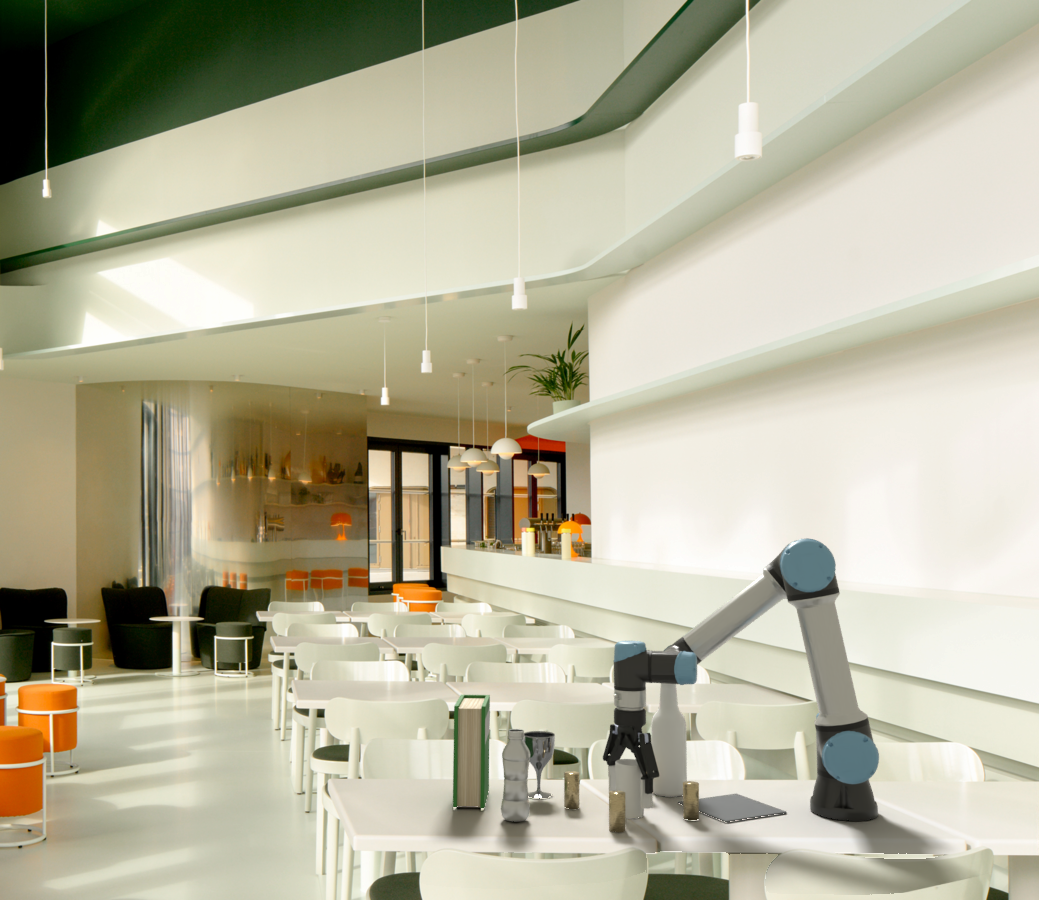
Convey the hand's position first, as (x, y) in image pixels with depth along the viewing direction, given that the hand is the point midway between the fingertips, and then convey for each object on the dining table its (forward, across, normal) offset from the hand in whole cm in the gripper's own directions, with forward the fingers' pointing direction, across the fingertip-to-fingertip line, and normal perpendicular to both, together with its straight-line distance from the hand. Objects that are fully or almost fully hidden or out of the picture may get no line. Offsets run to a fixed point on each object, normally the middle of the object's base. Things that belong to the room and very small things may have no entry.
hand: (630, 800), depth 222 cm
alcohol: (+3, -11, +19) cm, 22 cm away
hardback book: (+3, -26, -29) cm, 39 cm away
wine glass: (+3, -23, -12) cm, 26 cm away
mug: (+3, 0, 0) cm, 3 cm away
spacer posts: (+3, 0, 0) cm, 3 cm away
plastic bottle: (+3, -6, -27) cm, 28 cm away
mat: (+3, +7, +24) cm, 25 cm away
